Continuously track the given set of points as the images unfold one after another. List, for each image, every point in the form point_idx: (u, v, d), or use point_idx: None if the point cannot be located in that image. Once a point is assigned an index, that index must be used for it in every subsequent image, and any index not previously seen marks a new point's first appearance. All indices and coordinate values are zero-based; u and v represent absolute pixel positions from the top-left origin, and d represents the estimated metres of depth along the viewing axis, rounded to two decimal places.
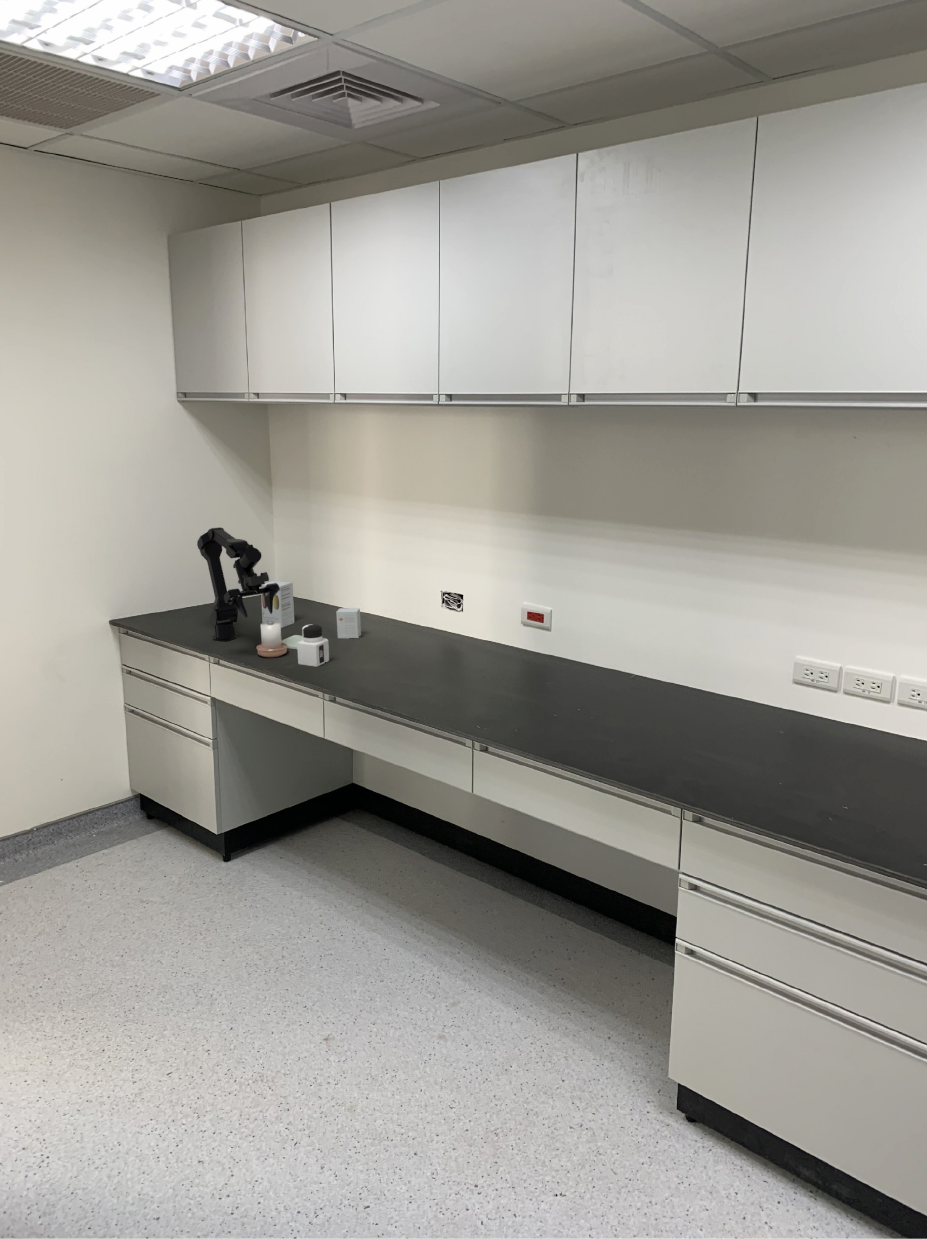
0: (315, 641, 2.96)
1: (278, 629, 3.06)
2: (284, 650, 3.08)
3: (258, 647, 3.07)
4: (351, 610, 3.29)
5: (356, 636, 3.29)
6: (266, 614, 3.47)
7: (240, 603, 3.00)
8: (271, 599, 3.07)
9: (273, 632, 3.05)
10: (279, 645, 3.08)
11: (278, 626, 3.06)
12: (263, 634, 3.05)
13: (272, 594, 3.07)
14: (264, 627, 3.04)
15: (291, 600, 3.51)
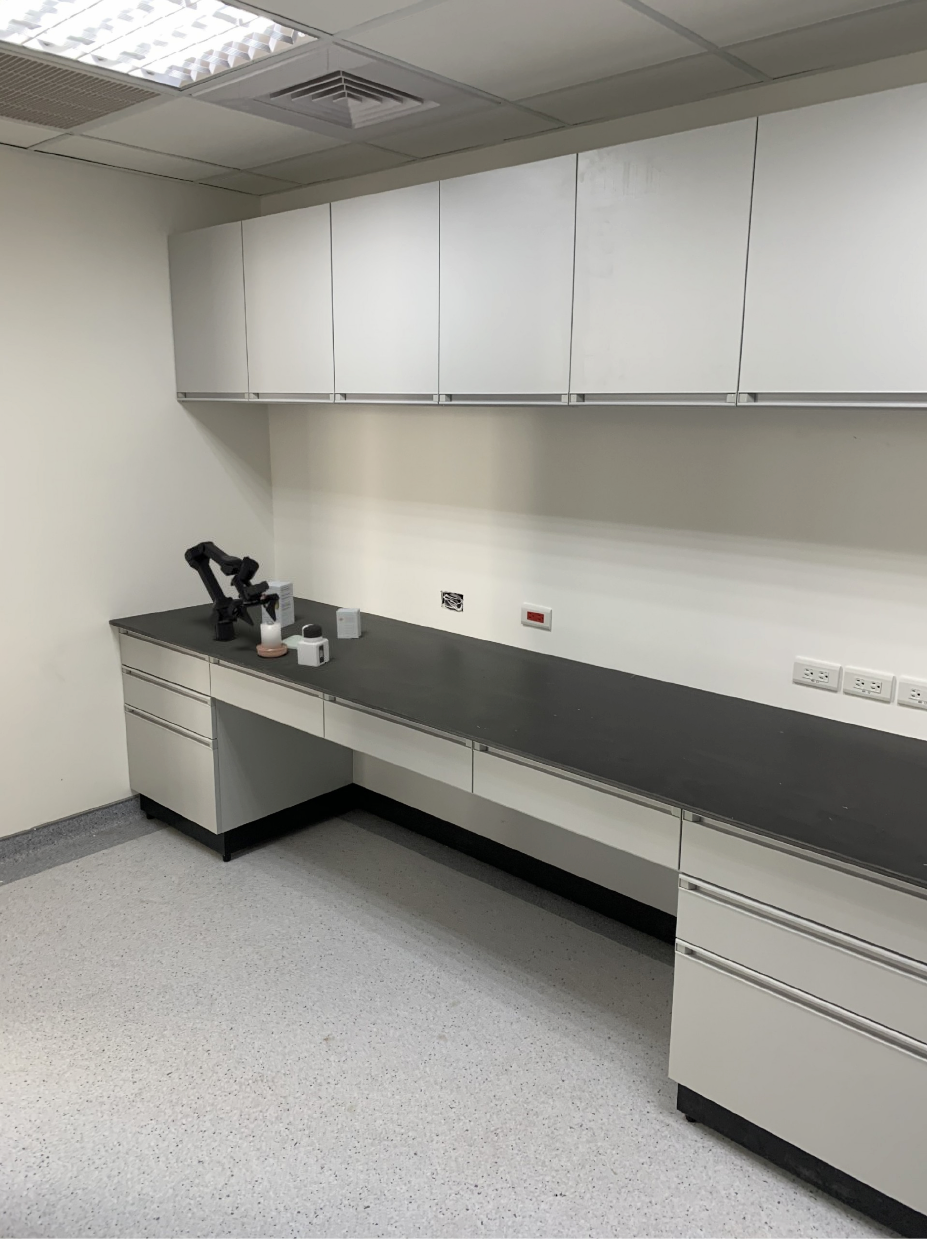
0: (315, 641, 2.96)
1: (278, 629, 3.06)
2: (284, 650, 3.08)
3: (258, 647, 3.07)
4: (351, 610, 3.29)
5: (356, 636, 3.29)
6: (266, 614, 3.47)
7: (245, 612, 3.06)
8: (273, 607, 3.14)
9: (273, 632, 3.05)
10: (279, 645, 3.08)
11: (278, 626, 3.06)
12: (263, 634, 3.05)
13: (273, 602, 3.15)
14: (264, 627, 3.04)
15: (291, 600, 3.51)
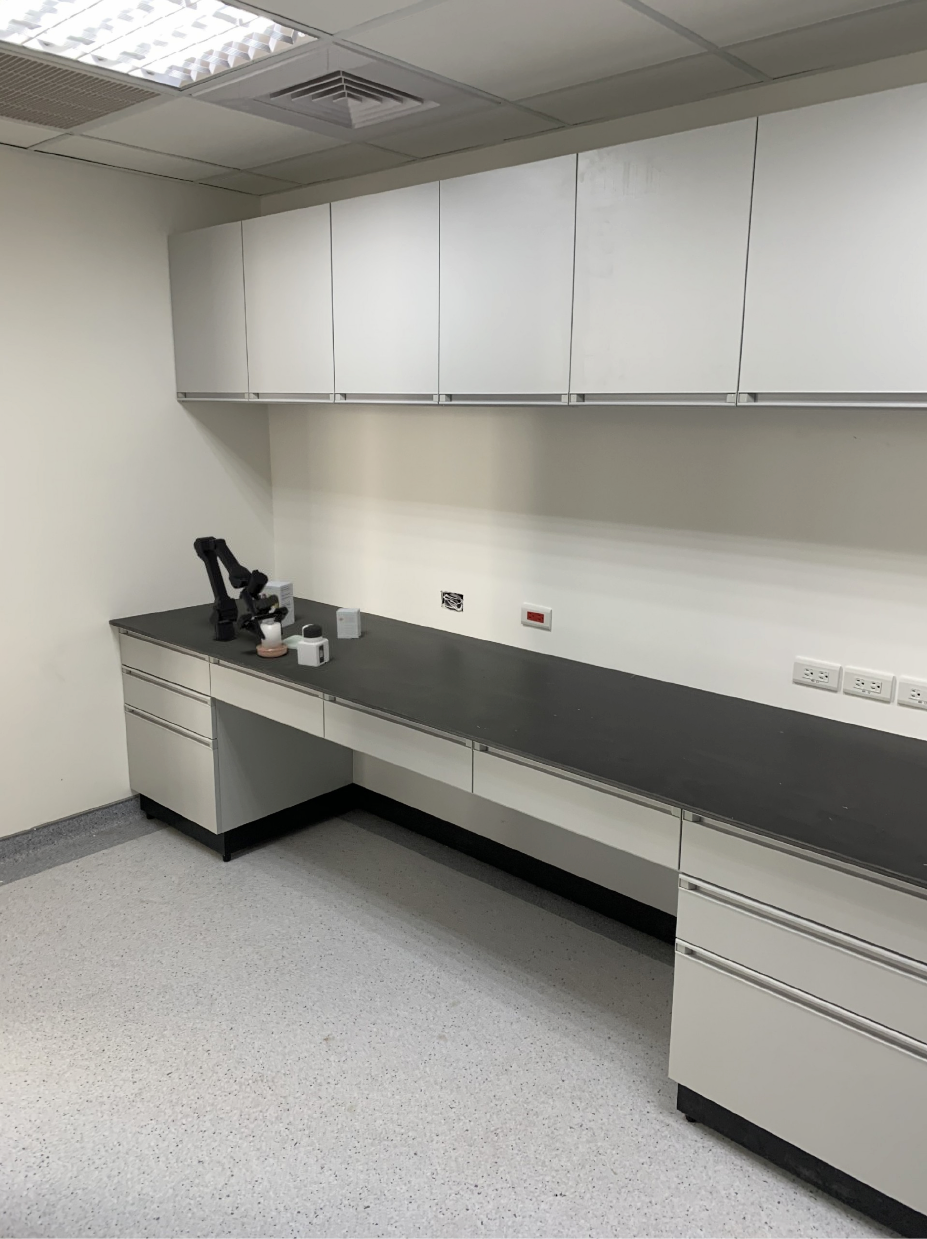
0: (315, 641, 2.96)
1: (278, 629, 3.06)
2: (284, 650, 3.08)
3: (258, 647, 3.07)
4: (351, 610, 3.29)
5: (356, 636, 3.29)
6: None
7: (256, 626, 3.05)
8: (279, 622, 3.11)
9: (273, 632, 3.05)
10: (279, 645, 3.08)
11: (278, 626, 3.06)
12: None
13: (280, 617, 3.11)
14: (264, 627, 3.04)
15: (291, 600, 3.51)
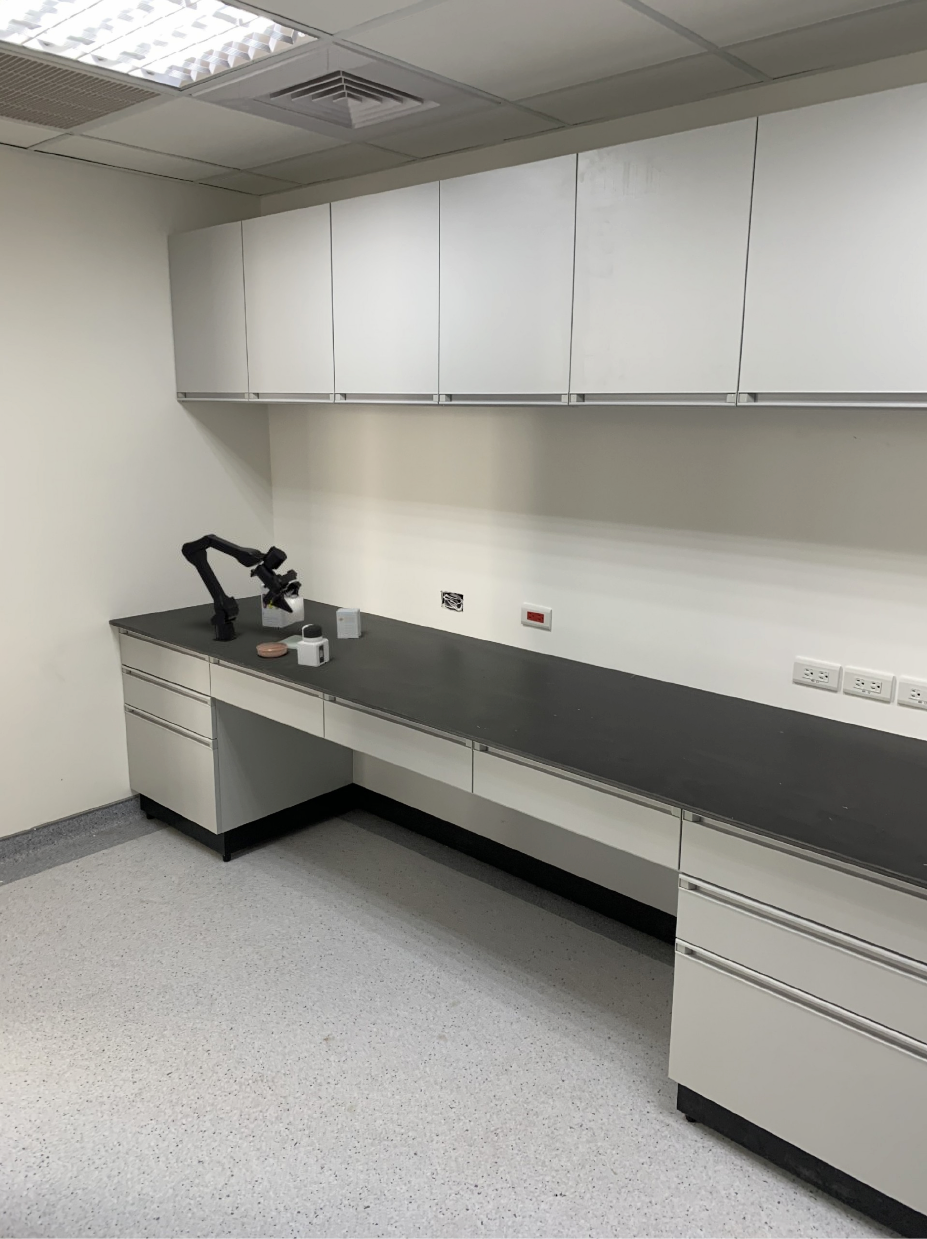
0: (315, 641, 2.96)
1: None
2: (284, 650, 3.08)
3: (258, 647, 3.07)
4: (351, 610, 3.29)
5: (356, 636, 3.29)
6: (266, 614, 3.47)
7: (283, 600, 3.12)
8: (297, 595, 3.21)
9: (300, 604, 3.15)
10: (303, 617, 3.18)
11: None
12: None
13: (297, 590, 3.21)
14: (291, 600, 3.13)
15: None
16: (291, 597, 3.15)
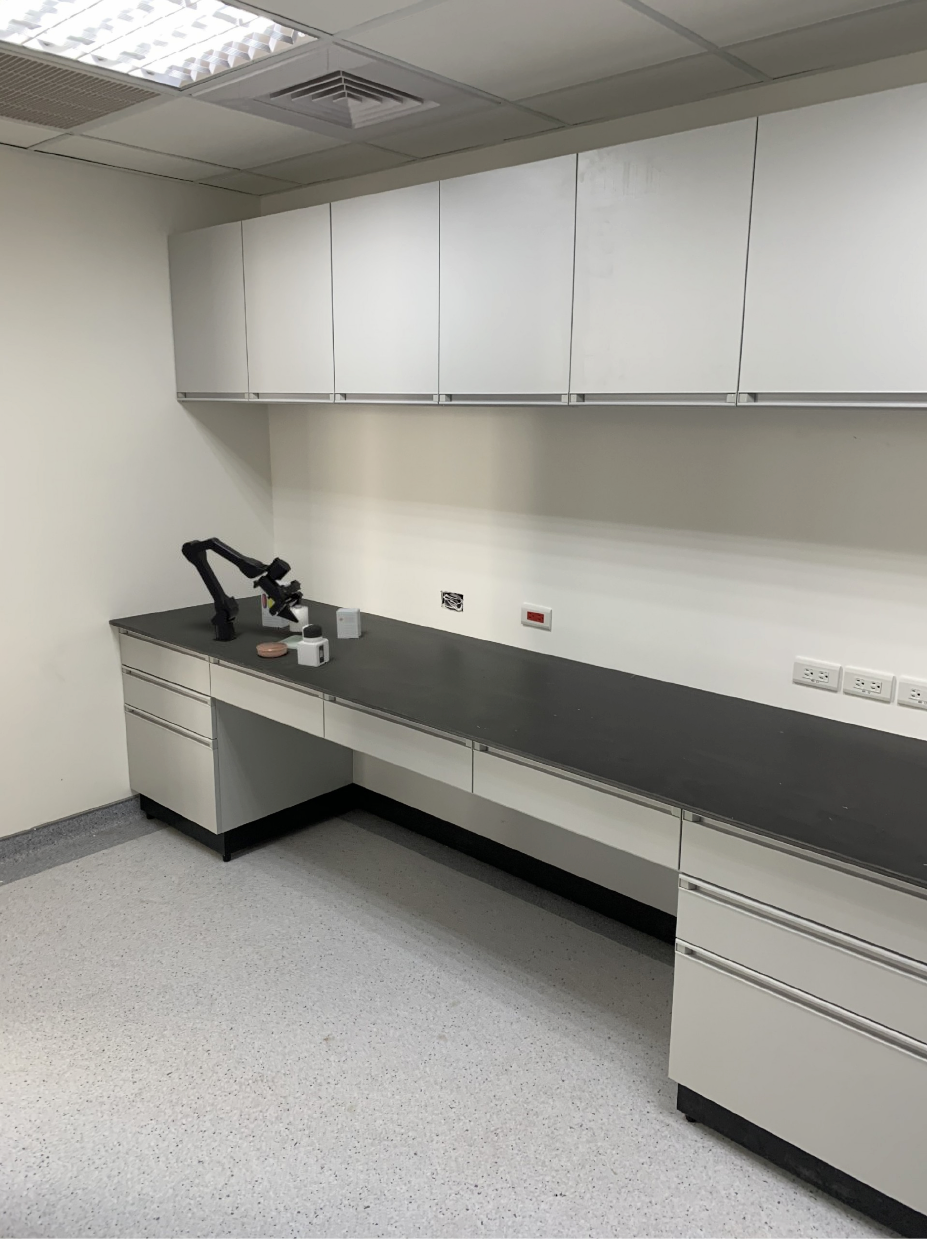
0: (315, 641, 2.96)
1: (307, 612, 3.21)
2: (284, 650, 3.08)
3: (258, 647, 3.07)
4: (351, 610, 3.29)
5: (356, 636, 3.29)
6: (266, 614, 3.47)
7: (289, 610, 3.16)
8: None
9: (305, 614, 3.19)
10: None
11: (307, 609, 3.21)
12: None
13: (300, 601, 3.25)
14: (297, 610, 3.17)
15: None
16: (296, 607, 3.20)
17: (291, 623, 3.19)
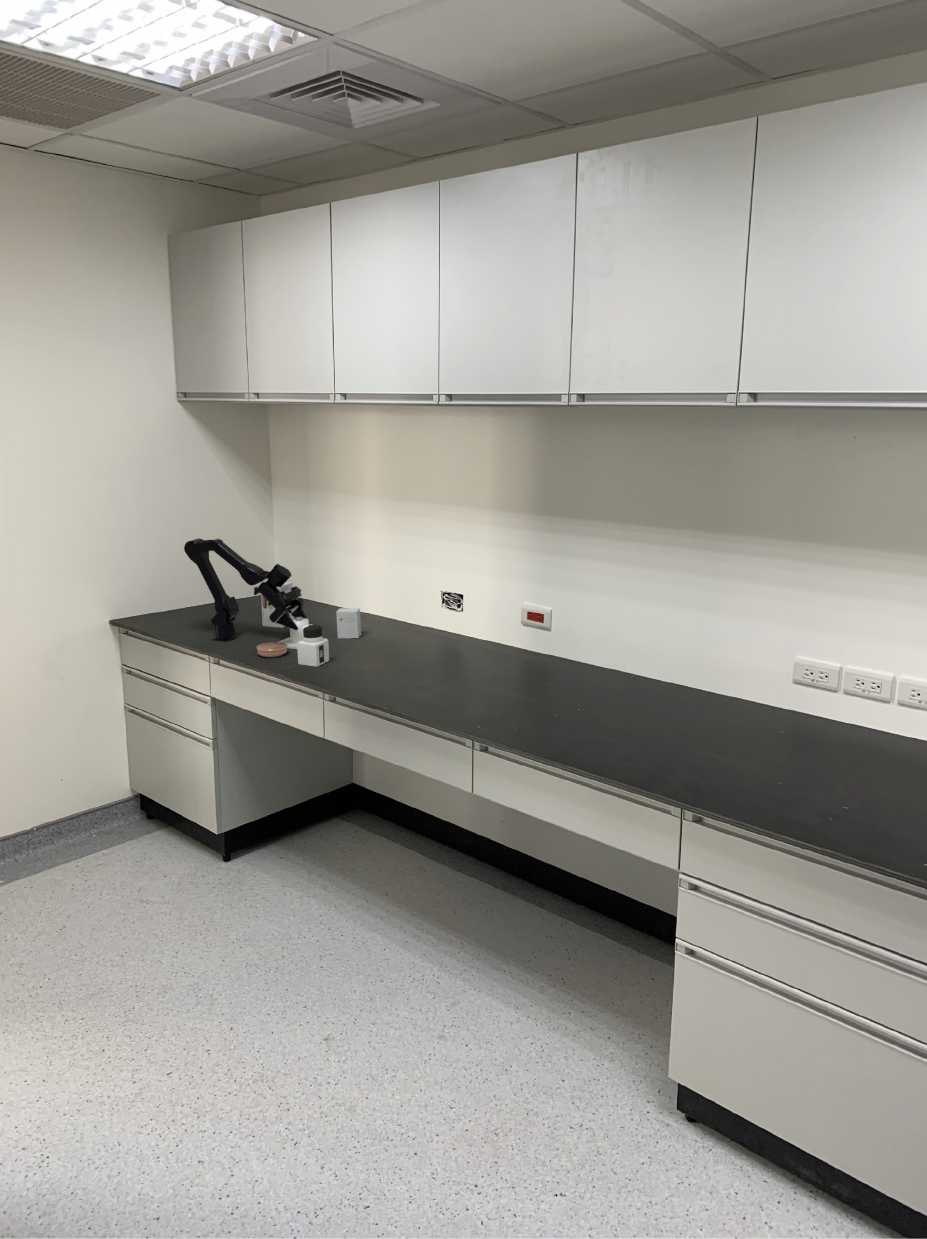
0: (315, 641, 2.96)
1: (308, 624, 3.22)
2: (284, 650, 3.08)
3: (258, 647, 3.07)
4: (351, 610, 3.29)
5: (356, 636, 3.29)
6: (266, 614, 3.47)
7: (289, 618, 3.16)
8: (302, 611, 3.27)
9: None
10: None
11: (308, 621, 3.22)
12: (296, 630, 3.19)
13: (302, 606, 3.27)
14: (297, 623, 3.19)
15: None
16: (297, 619, 3.21)
17: (292, 635, 3.21)
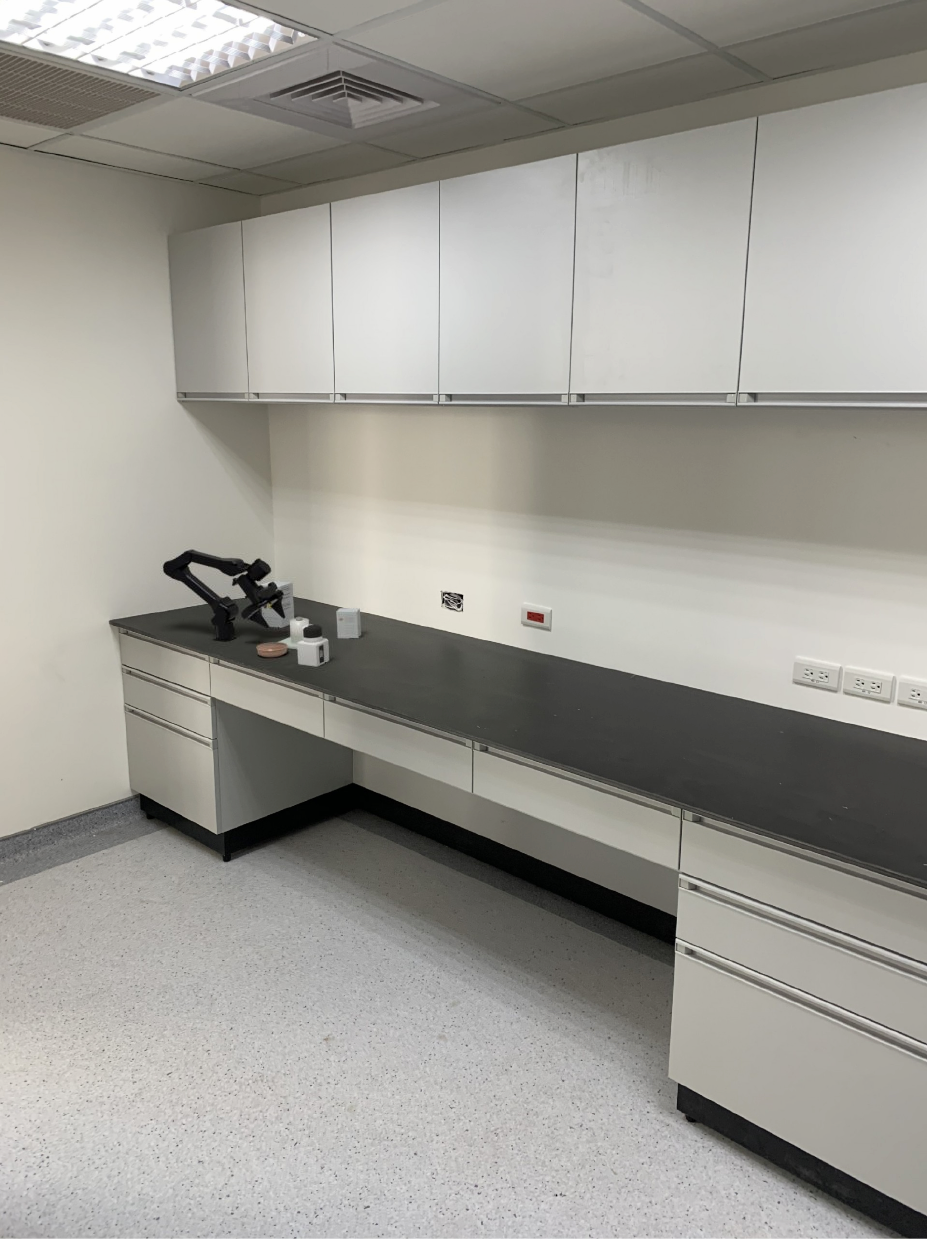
0: (315, 641, 2.96)
1: (308, 624, 3.22)
2: (284, 650, 3.08)
3: (258, 647, 3.07)
4: (351, 610, 3.29)
5: (356, 636, 3.29)
6: (266, 614, 3.47)
7: (260, 616, 3.18)
8: (280, 605, 3.27)
9: None
10: None
11: (308, 621, 3.22)
12: (296, 630, 3.19)
13: (280, 600, 3.27)
14: (297, 623, 3.18)
15: (291, 600, 3.51)
16: (297, 619, 3.21)
17: (292, 635, 3.21)
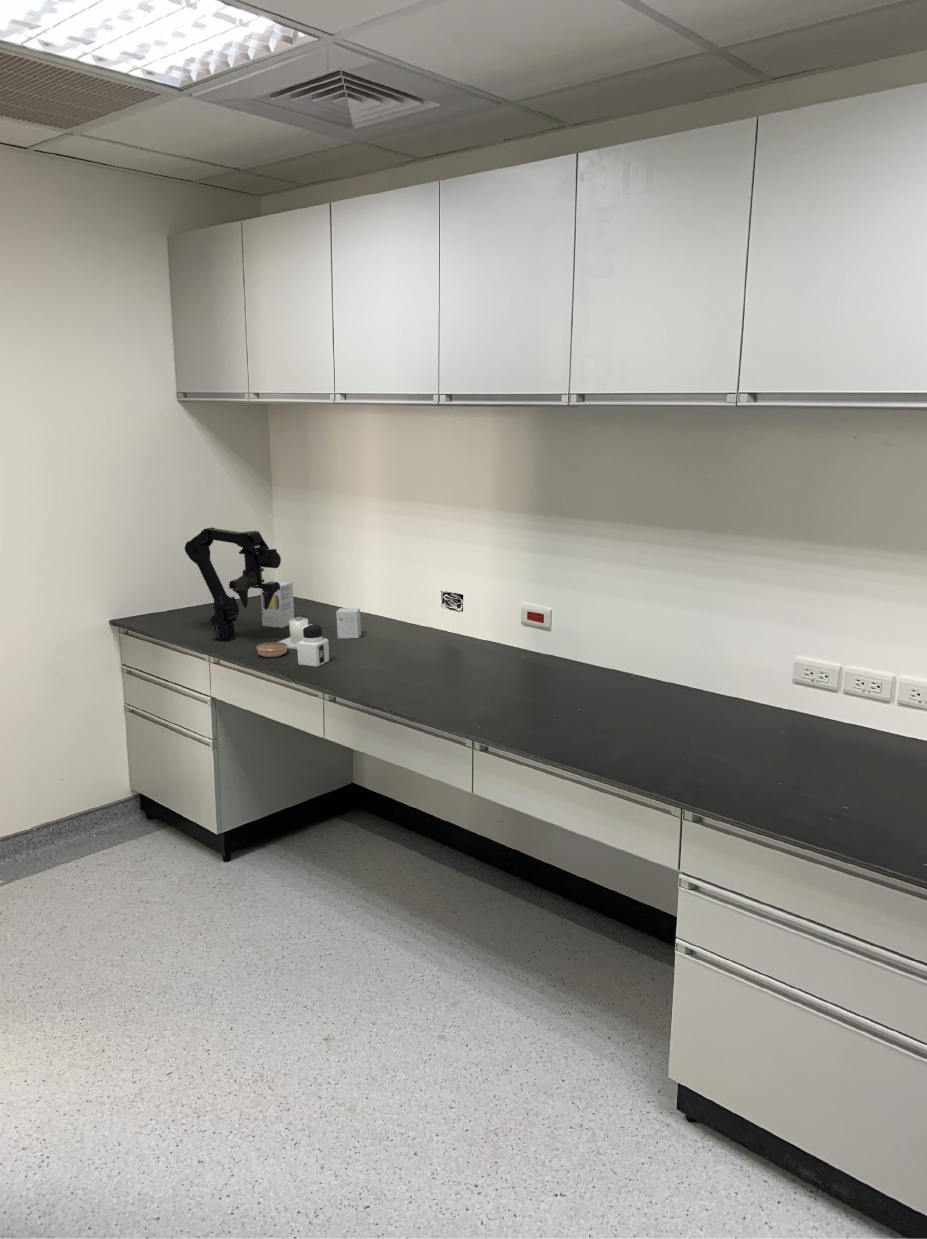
0: (315, 641, 2.96)
1: None
2: (284, 650, 3.08)
3: (258, 647, 3.07)
4: (351, 610, 3.29)
5: (356, 636, 3.29)
6: (266, 614, 3.47)
7: (239, 595, 3.22)
8: (265, 598, 3.18)
9: None
10: None
11: (307, 621, 3.22)
12: (295, 630, 3.19)
13: (265, 594, 3.16)
14: (297, 623, 3.18)
15: (291, 600, 3.51)
16: (296, 619, 3.21)
17: (291, 635, 3.21)
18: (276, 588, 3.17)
